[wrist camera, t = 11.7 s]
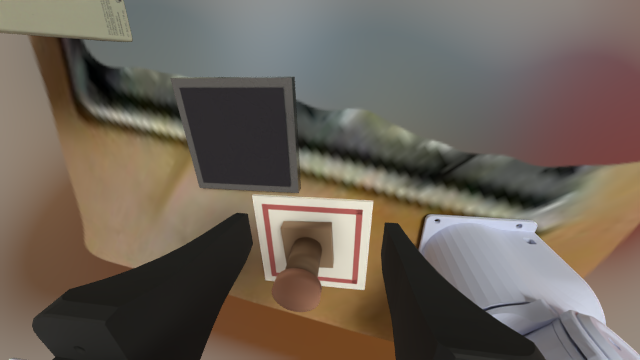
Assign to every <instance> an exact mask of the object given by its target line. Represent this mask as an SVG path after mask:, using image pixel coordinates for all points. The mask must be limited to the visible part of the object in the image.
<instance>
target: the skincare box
mask: <svg viewBox="0 0 640 360" xmlns="http://www.w3.org/2000/svg"><path fill="white" fill-rule="evenodd" d="M0 33H9V34H22V35H34V36H47V37H61V38H74V39H88V40H100V41H117V42H132V35H131V30H130V26H129V22H128V17H127V13H126V8H125V4H124V1H123V0H0Z"/></svg>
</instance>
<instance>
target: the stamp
mask: <svg viewBox="0 0 640 360" xmlns="http://www.w3.org/2000/svg"><path fill="white" fill-rule="evenodd" d="M280 229H281V235H282V240H283V246H284V252H285V258H286V264H287V265H286V268H285V270H283V271H281V272H280V273H279V274H278V275H277V277H276V279H275V282H274V285H273V288H272V295H273V298H274V299H275V301H276V302H277V303H278V304H279V305H281V306H282V307H284V308H286V309H288V310H291V311H296V312H306V311H310V310H312V309H314V308H315V307H317V306H318V304H319V302H320V296H321V289H322V287H321V283H320V281H319V279H318V272H319V267H320V268H333V264H334V251H333V233H332V222H311V221H283V224H282V226H281V228H280Z"/></svg>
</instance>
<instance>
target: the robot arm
mask: <svg viewBox="0 0 640 360" xmlns="http://www.w3.org/2000/svg"><path fill="white" fill-rule="evenodd" d="M436 219H439V220H438V221H435V220H436ZM518 224H519V225H518ZM516 225H518V226H516ZM536 228H537V224H536V223H535V222H534V221H532V220H519V219H502V218H485V217H468V216H451V215H434V214H430V215H427V216H426V218H425V222H424V226H423V231H422V235H421V240H420V245H419V249H417V248H416V247H415V246H414V244H413V243H412V242H411V240H410V239H409V238H408V236H407V235H406V234H405V232H404V231H403V230H402V228H401V227H400V225H399V224H398V223H385V227H384V235H383V242H382V250H381V261H382V273H383V278H384V283H385V288H386V294H387V299H388V304H389V309H390V314H391V319H392V326H393V335H394V345H395V356H396V360H640V355H639V354H638V353H637V352H636V351H635V350H634V349H633V348H632V347H631V346H629V345H628V344H627V343H626V342H625V341H624V340H623V339H621V338H620V337H619V336H618V335H617V334H616V333H614V332H613V331H612V330H611V329H610V328H608V327H607V326H606V321H605V316H604V312H603V310H602V307H601V305H600V303H599V300H598V298H597V297H596V295H595V293H594V292H593V290H592V289H591V288H590V286H589V285H588V284H587V283H586V282H585V281H584V280H583V279H582V278H581V277H580V276H579V275H578V274H577V273H576V272H575V271H574V270H573V269H572V268H571V267H570V266H569V265H568V264H567V263H566V262H565V261H564V260H563V259H561V258H560V257H559V256H558V255H557V254H556V253H555V252H554V251H553V250H552V249H551V248H550V247H549V246H548V245H547V244H546V243H545V242H544V241H543V240H542V239H541V238H540V237H538V236H537V235H536V234H535V231H536ZM252 245H253V241H252V236H251V230H250V224H249V219H248V214H245V213H236V214H234V215H232V216H231V217H229V218H228V219H226V220H224V221H223V222H221V223H220V224H218V225H217V226H215V227H214V228H212V229H211V230H209V231H207V232H206V233H204V234H203V235H201V236H199V237H198V238H196V239H194V240H192V241H191V242H189V243H187V244H186V245H184V246H182V247H180V248H178V249H176V250H174V251H172V252H170V253H168V254H166V255H164V256H162V257H160V258H158V259H155V260H153V261H151V262H148V263H146V264H144V265H141V266H139V267H137V268H134V269H131V270H129V271H126V272H123V273H121V274H118V275H115V276H112V277H109V278H106V279H103V280H100V281H96V282H93V283H90V284H86V285H83V286H79V287H76V288H72V289H69V290H68V291H67V292H65V293H64V294H63V295H62V296H61V297H59V298H58V299H57V300H56V301H54V302H53V303H52V304H51V305H49V306H48V307H47V308H46V309H44V310H43V311H42V312H41V313H39V314H38V315H37V316H36V317H35V318H34V319H33V324H32V327H33V330H34V332H35V333H36V334H37V336H38V337H39V339H40V340H41V341H42V342H43V343H44V344H45V345H46V346H47V348H48V349H49V350H50V351H51V352H52V353H53V355H54V356H55V358H54V359H53V360H200V359H201V356H202V353H203V350H204V348H205V345H206V343H207V340H208V338H209V335H210V333H211V330H212V328H213V325H214V323H215V321H216V318H217V316H218V314H219V311H220V309H221V307H222V305H223V303H224V301H225V299H226V297H227V295H228V293H229V291H230V290H231V288H232V286H233V284H234V282H235V281H236V279H237V277H238V275H239V273H240V272H241V270H242V268H243V266H244V264H245V262H246V260H247V258H248V255H249V253H250V250H251V247H252ZM9 360H25V359H19V358H11V359H9Z"/></svg>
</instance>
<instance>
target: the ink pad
mask: <svg viewBox="0 0 640 360" xmlns="http://www.w3.org/2000/svg"><path fill="white" fill-rule="evenodd" d="M171 82H172V86H173V89H174V93H175V97H176V101H177V104H178V108H179V112H180V116H181V119H182V123H183V127H184V131H185V134H186V138H187V142H188V146H189V149H190V153H191V157H192V161H193V164H194V168H195V172H196V176H197V179H198V183H199V187H200V188H214V189H233V190H252V191H272V192H291V193H299V191H300V189H301V182H300V164H299V147H298V129H297V111H296V93H295V77H206V78H203V77H199V78H171Z"/></svg>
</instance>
